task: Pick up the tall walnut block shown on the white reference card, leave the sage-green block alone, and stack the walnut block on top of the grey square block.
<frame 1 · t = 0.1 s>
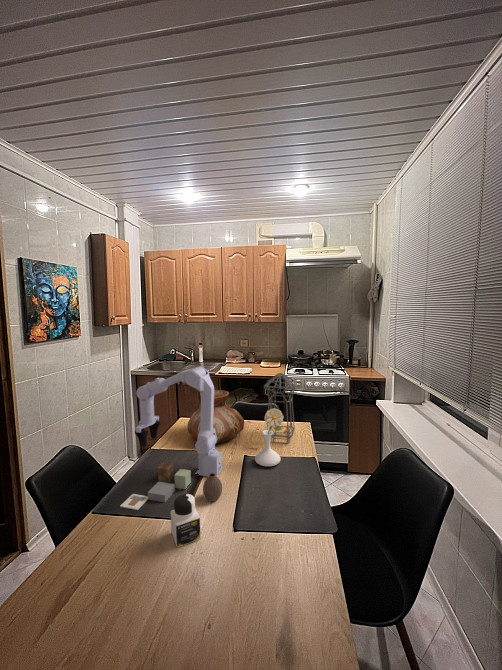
hand: (148, 441, 133), 10 cm above the table, tool pointing down, fingers open, 7 cm apart
geometric lantern: (281, 439, 157), on the table
brown coconut: (212, 498, 109), on the table
reference card: (135, 502, 107), on the table
jug: (216, 436, 161), on the table
walnut block: (166, 478, 122), on the table
flower in vase: (269, 463, 133), on the table
grey square block: (161, 495, 111), on the table
medicine bottle: (185, 536, 91), on the table
sage block: (183, 486, 116), on the table
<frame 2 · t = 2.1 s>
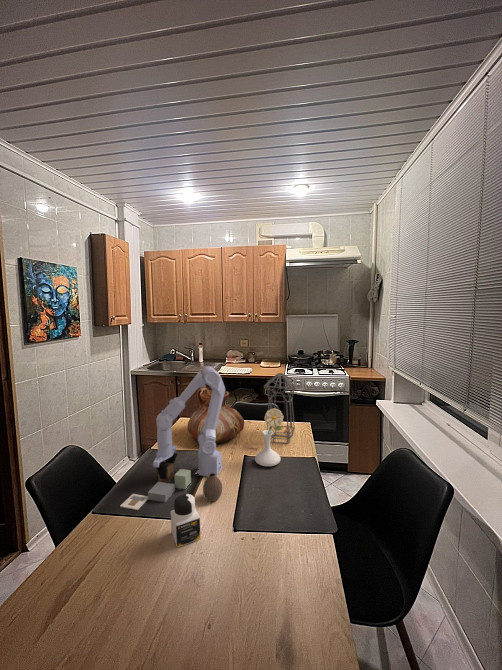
hand: (166, 475, 122), 1 cm above the table, tool pointing down, fingers closed on walnut block, 4 cm apart
walnut block: (166, 478, 122), on the table, touching gripper
everything else where it was.
when the fingers open (5 cm above the table, at t = 5.3 s): walnut block drops 1 cm, point 3 cm above the table.
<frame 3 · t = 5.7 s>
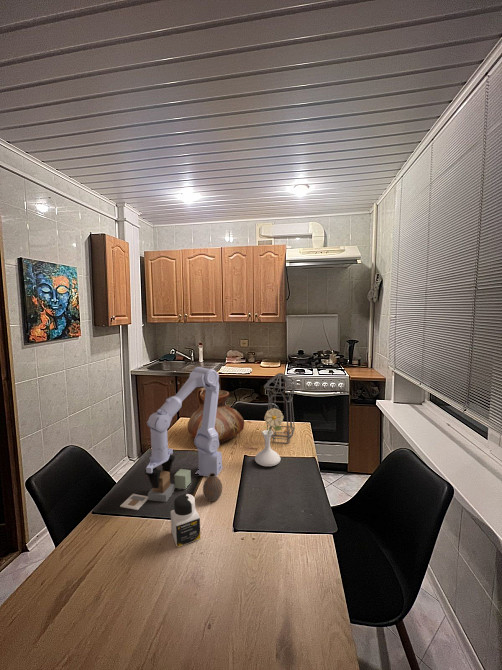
hand: (161, 481, 111), 5 cm above the table, tool pointing down, fingers open, 7 cm apart
walnut block: (161, 488, 111), point 3 cm above the table
everything else where it was.
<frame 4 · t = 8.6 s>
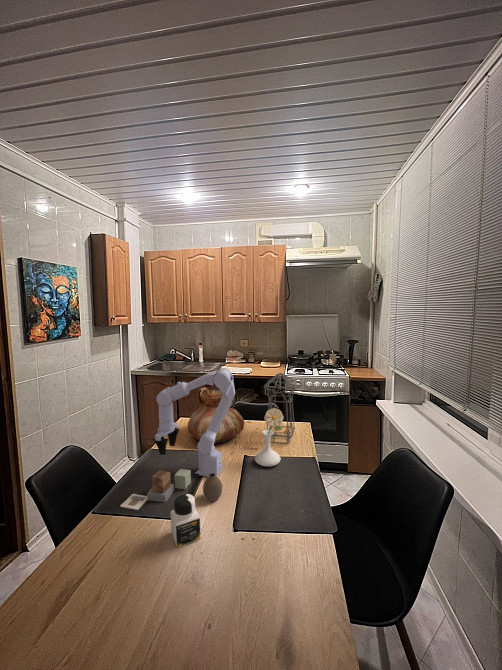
hand: (167, 450, 126), 9 cm above the table, tool pointing down, fingers open, 7 cm apart
nothing on the table moved.
at the end: walnut block 0.4 cm off-centre on the grey square block, point 3.0 cm above the grey square block's base; walnut block tilted 1°; the gripper is holding nothing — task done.
